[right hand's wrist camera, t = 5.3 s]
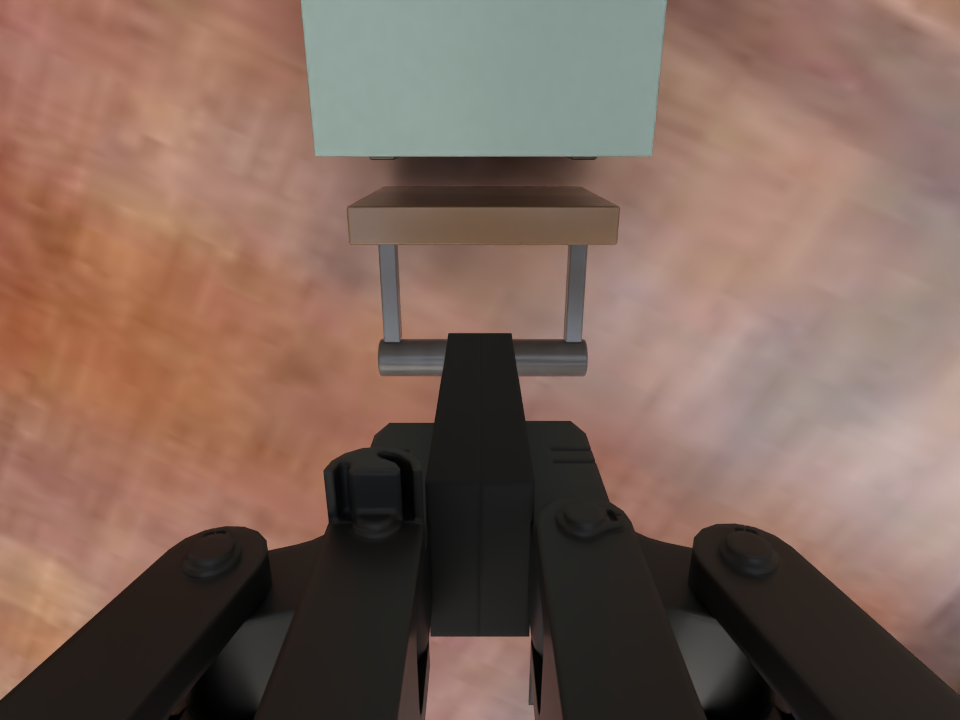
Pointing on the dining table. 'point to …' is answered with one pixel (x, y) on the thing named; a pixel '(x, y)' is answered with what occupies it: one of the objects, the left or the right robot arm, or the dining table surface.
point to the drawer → (483, 222)
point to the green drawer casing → (483, 77)
